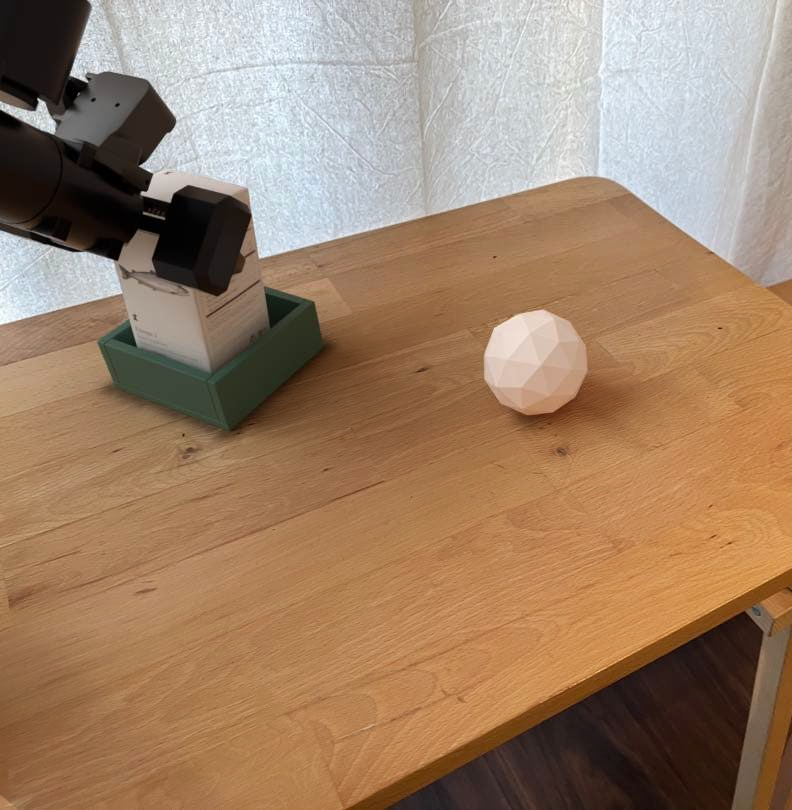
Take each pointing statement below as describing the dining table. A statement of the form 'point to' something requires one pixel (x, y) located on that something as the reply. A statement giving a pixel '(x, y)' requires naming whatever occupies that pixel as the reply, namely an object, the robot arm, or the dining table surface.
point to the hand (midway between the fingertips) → (201, 254)
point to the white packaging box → (192, 293)
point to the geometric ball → (535, 362)
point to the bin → (232, 385)
